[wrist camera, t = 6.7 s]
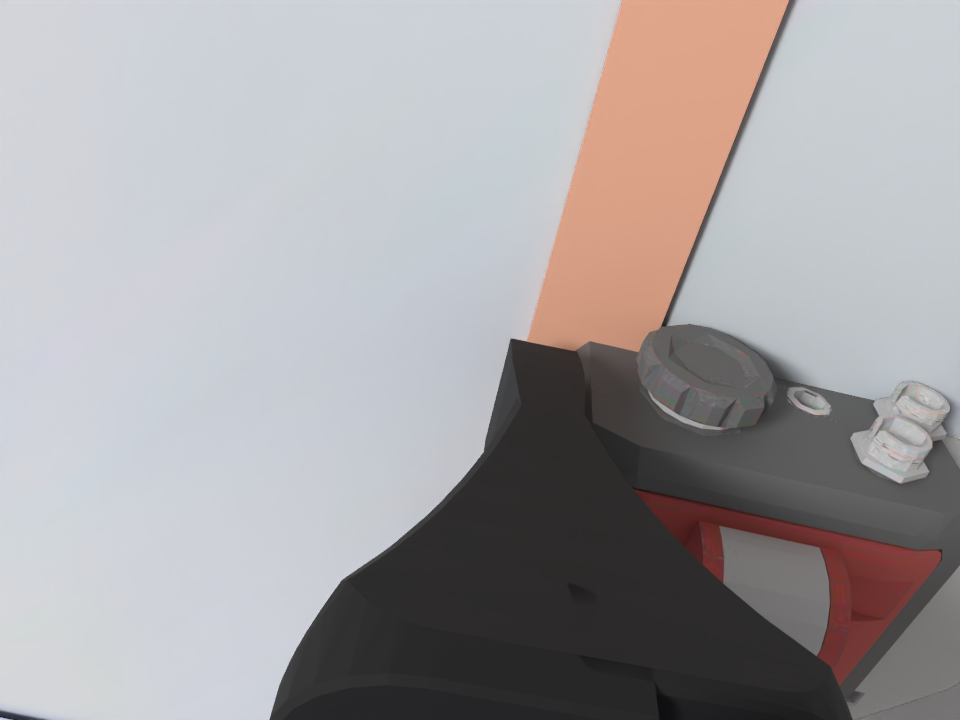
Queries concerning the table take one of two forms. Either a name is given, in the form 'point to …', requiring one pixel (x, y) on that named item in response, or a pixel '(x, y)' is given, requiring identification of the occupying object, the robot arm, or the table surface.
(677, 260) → the finish line
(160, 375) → the table surface
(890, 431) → the walkie-talkie
